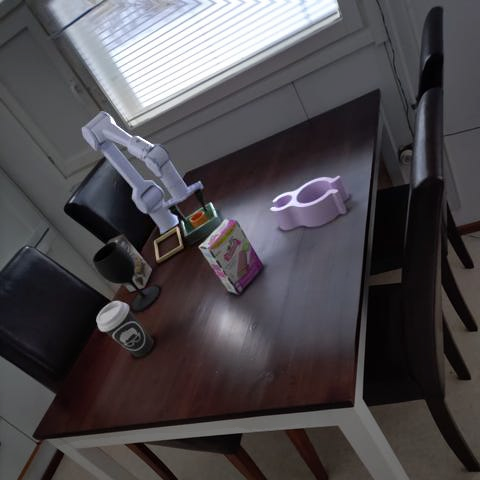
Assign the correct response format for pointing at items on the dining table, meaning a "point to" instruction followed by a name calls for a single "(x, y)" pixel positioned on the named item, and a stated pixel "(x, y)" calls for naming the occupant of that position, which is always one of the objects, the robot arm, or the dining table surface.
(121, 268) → the wine glass
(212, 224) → the basin
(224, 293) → the dining table surface
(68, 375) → the dining table surface
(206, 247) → the candy bar box
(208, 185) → the dining table surface
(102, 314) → the coffee cup
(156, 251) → the tray
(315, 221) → the clip
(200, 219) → the bowl
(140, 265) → the coffee box
